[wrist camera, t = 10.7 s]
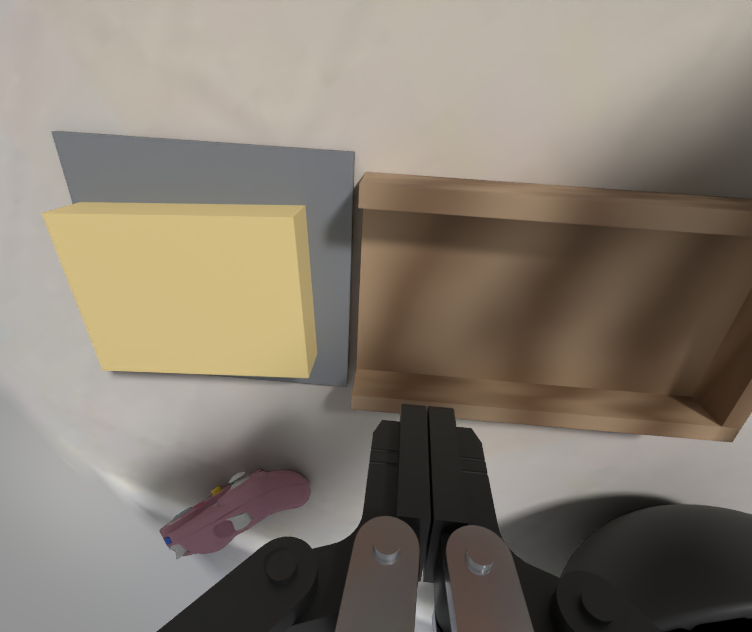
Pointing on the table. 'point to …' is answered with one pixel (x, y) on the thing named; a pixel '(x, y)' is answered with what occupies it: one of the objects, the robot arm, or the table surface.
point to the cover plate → (191, 286)
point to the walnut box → (556, 305)
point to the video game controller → (234, 510)
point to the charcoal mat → (237, 186)
